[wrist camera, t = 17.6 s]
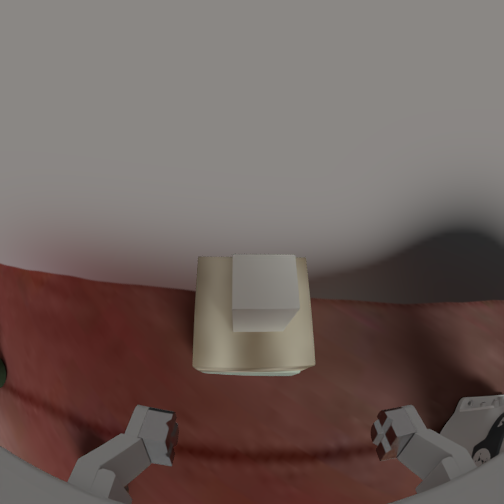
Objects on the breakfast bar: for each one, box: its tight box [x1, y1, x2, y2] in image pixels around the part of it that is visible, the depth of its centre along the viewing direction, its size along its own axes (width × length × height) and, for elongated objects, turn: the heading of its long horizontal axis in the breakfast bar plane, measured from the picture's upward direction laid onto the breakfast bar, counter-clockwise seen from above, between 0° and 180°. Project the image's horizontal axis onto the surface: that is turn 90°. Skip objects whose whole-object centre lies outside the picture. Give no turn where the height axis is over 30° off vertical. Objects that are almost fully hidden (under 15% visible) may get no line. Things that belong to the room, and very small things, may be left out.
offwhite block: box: [232, 254, 300, 332], centre depth 25 cm, size 5×4×8 cm
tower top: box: [193, 257, 315, 372], centre depth 31 cm, size 12×12×6 cm
